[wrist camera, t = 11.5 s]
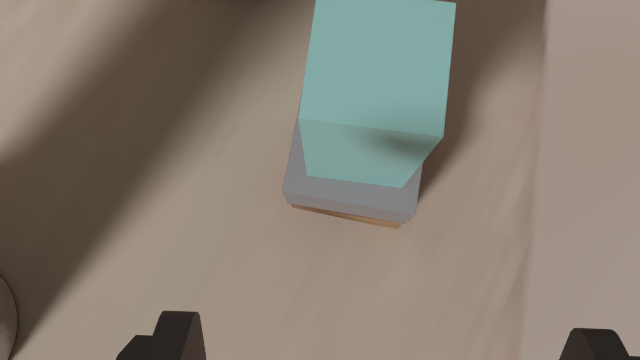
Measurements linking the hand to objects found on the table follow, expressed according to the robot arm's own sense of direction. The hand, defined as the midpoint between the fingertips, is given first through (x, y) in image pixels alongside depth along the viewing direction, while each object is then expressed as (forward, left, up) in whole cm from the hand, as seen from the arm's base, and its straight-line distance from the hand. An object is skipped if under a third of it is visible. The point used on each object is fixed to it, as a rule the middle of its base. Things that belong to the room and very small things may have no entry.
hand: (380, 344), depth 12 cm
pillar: (-1, +9, -16) cm, 18 cm away
